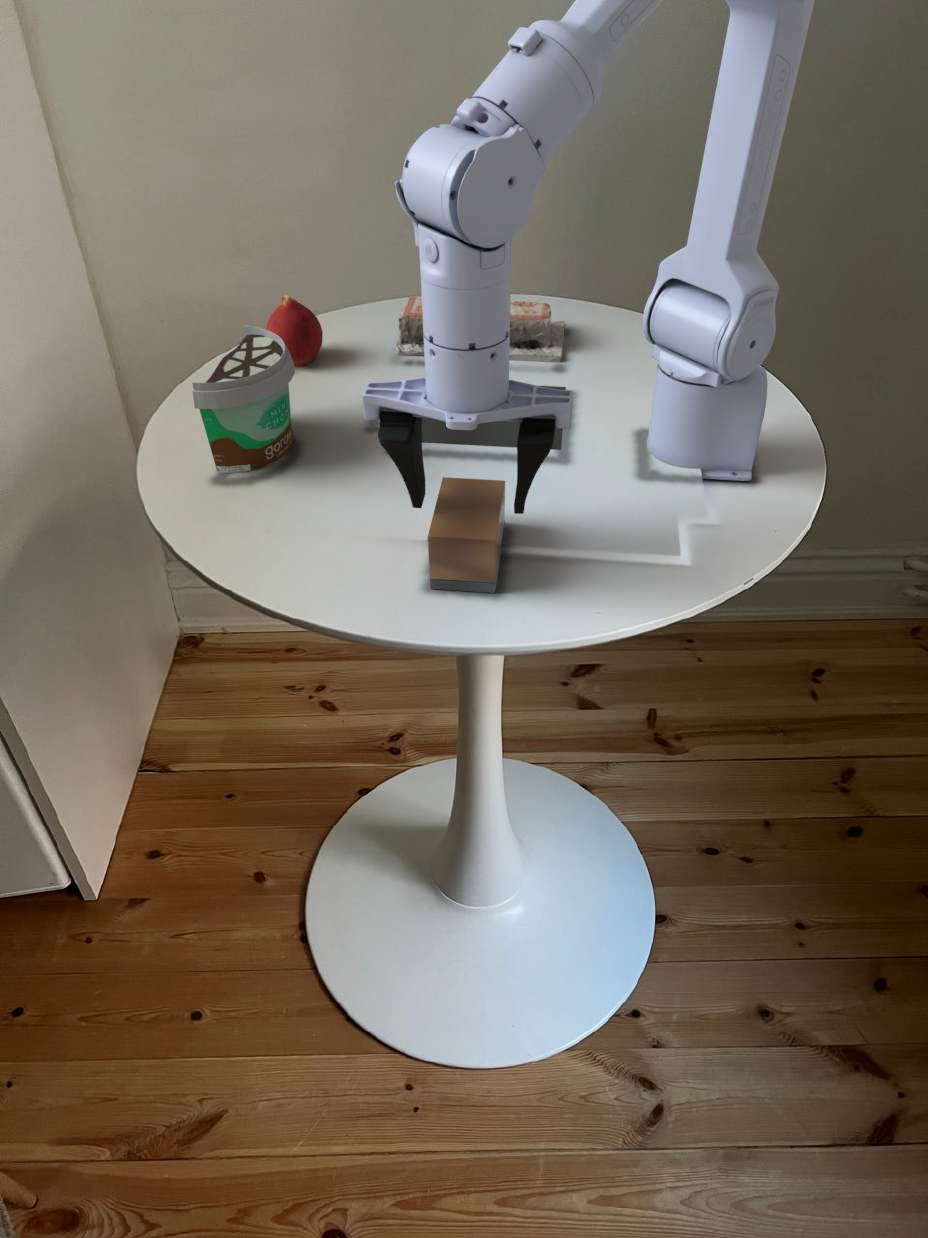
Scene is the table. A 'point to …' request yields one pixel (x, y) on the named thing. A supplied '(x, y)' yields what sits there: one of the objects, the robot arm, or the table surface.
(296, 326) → the onion
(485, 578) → the eraser
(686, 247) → the robot arm
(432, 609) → the table surface
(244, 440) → the food container
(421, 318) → the packaged product
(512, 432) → the slate board
